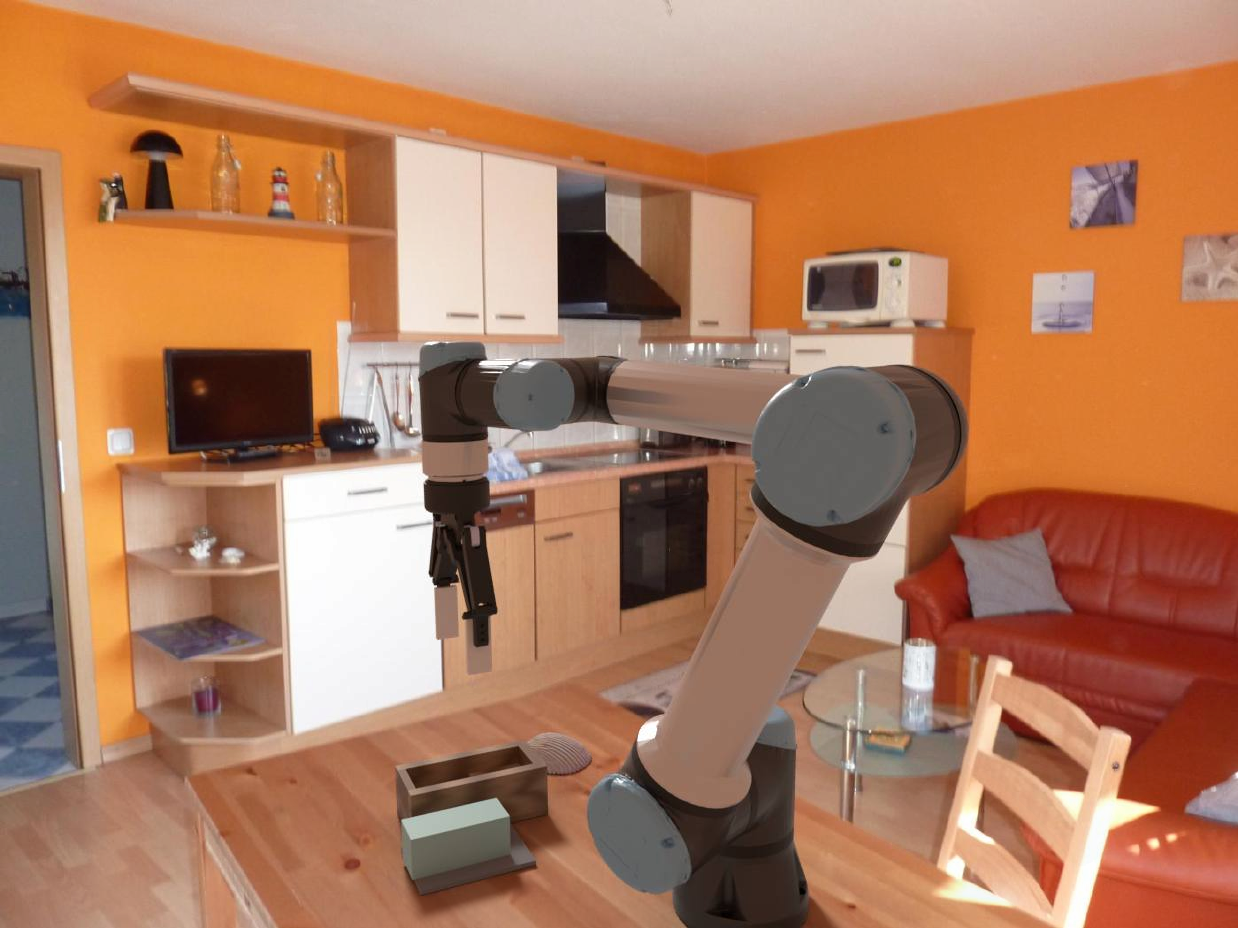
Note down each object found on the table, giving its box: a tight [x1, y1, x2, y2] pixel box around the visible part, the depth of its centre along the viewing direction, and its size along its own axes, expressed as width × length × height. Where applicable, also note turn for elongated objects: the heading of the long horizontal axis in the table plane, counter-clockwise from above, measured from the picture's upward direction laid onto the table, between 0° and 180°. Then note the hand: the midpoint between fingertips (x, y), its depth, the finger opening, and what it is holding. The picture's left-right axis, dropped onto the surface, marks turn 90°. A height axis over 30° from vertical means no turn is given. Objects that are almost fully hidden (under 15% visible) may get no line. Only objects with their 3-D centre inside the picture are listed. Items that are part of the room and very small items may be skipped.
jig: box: [394, 739, 549, 824], centre depth 122 cm, size 18×9×7 cm, turn 115°
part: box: [400, 798, 511, 881], centre depth 111 cm, size 12×5×5 cm, turn 116°
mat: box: [400, 823, 537, 896], centre depth 112 cm, size 10×14×1 cm
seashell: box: [526, 732, 592, 775], centre depth 139 cm, size 10×6×10 cm
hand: (462, 654), depth 109 cm, fingers open, 13 cm apart
